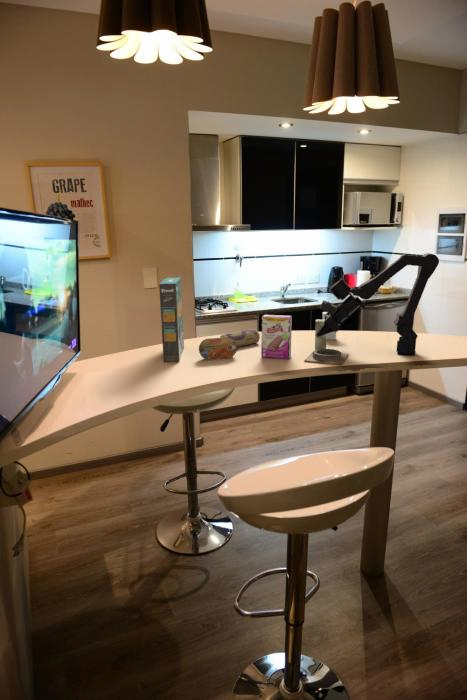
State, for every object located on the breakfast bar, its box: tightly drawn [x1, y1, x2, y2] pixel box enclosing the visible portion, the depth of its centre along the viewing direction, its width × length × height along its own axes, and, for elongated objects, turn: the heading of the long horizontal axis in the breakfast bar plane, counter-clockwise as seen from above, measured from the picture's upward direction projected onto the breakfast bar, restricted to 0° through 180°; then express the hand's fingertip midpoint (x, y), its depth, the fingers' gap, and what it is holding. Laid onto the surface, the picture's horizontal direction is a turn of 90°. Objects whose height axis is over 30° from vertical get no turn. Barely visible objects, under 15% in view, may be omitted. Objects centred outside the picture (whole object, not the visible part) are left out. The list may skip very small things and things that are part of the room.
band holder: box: [303, 348, 349, 366], centre depth 177 cm, size 14×14×3 cm
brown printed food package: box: [198, 336, 238, 361], centre depth 179 cm, size 15×3×8 cm, turn 105°
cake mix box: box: [158, 277, 185, 363], centre depth 183 cm, size 22×6×30 cm, turn 1°
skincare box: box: [322, 311, 337, 340], centre depth 208 cm, size 6×4×12 cm
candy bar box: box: [260, 314, 293, 360], centre depth 179 cm, size 11×5×16 cm, turn 74°
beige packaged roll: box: [219, 327, 261, 348], centre depth 196 cm, size 26×8×7 cm, turn 128°
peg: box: [314, 318, 327, 350], centre depth 188 cm, size 4×4×12 cm
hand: (317, 334), depth 188 cm, fingers closed on peg, 4 cm apart
